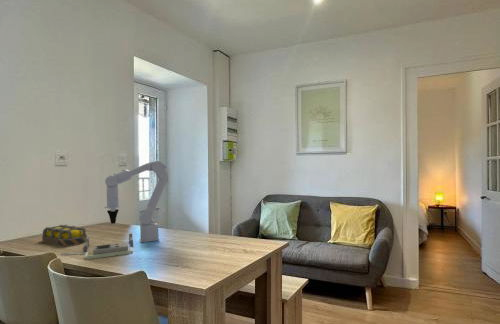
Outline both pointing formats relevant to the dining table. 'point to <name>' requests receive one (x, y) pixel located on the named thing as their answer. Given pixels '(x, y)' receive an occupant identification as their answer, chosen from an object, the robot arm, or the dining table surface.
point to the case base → (88, 242)
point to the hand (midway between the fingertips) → (113, 223)
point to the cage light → (64, 235)
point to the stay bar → (73, 253)
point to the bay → (108, 254)
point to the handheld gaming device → (110, 248)
